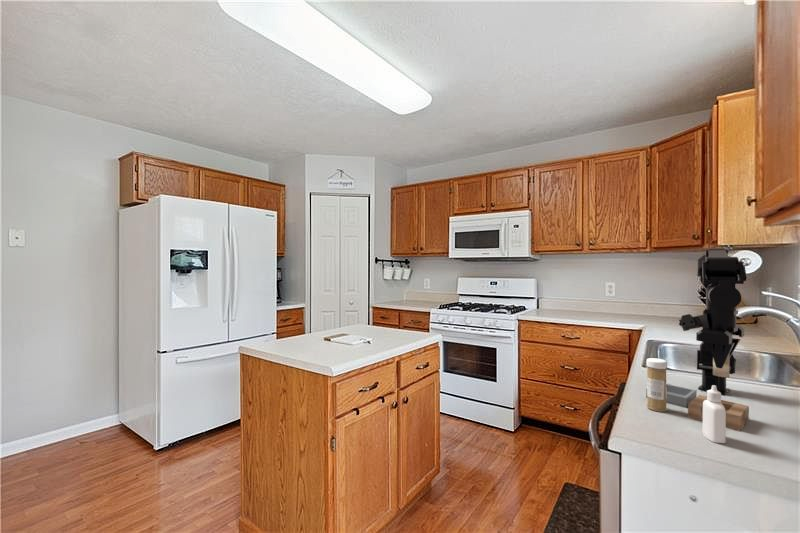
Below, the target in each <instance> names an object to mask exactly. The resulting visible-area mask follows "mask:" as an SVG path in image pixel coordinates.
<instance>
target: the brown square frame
mask: <svg viewBox="0 0 800 533" xmlns="http://www.w3.org/2000/svg"><path fill="white" fill-rule="evenodd" d="M704 400H707V395H701V394H698V395H696V398H695V399H694V400H692V401H691V402H690V403H689V404H688V407H687V418H689V419H693V420H695V421H696V420H697V421H700V422H703V401H704ZM721 403H722V404H723V406H724V407H725V411H726V429H729V430H733V431H737V432H740V431H742V430H743V428H744V426H745V425H746V424H747V423H748V421H749V418H750V414H749V413H750V406H749V405H745V404H743V403H736V402H733V401H728V400H725V399H721Z"/></svg>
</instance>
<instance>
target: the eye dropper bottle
mask: <svg viewBox="0 0 800 533" xmlns="http://www.w3.org/2000/svg"><path fill="white" fill-rule="evenodd" d="M706 396H707V400H704V401H703V421H702V435H703V436H704V438H706V439H707V440H709V441H711V442H713V443H716V444H726V432H727V431H726V430H727V428H726V411H725V407H724V406H723V404H722V403H721V400H722V394H721V393H720V392H719V391H717V388H716V386H715V385H712V388H711V390H708V391H706Z"/></svg>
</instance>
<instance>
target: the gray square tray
mask: <svg viewBox="0 0 800 533" xmlns="http://www.w3.org/2000/svg"><path fill="white" fill-rule="evenodd" d="M666 387H667V398H666V404H670V405H673V406H674V405H675V406H677V407H682V408H688V404H689V403H690V402H691V401H692V400H694V399H695V398H696V397H697V396H698V395H697V393H698V392H697V390H698V389H692V388H688V387H687V388H686V387H683V386H679V385H673V384H669V383H666ZM645 395H646V396H645V398H646V399H647V388H646V391H645Z"/></svg>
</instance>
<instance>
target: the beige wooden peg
mask: <svg viewBox="0 0 800 533" xmlns="http://www.w3.org/2000/svg"><path fill="white" fill-rule="evenodd" d="M729 359H730V353H729V355H728V357H727V359H726V362H725V363H724V365H723V367H722V368H717V367H716V365H715V362H714V358H713V375H715V376H719V377H726V378H730V374H729Z"/></svg>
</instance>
